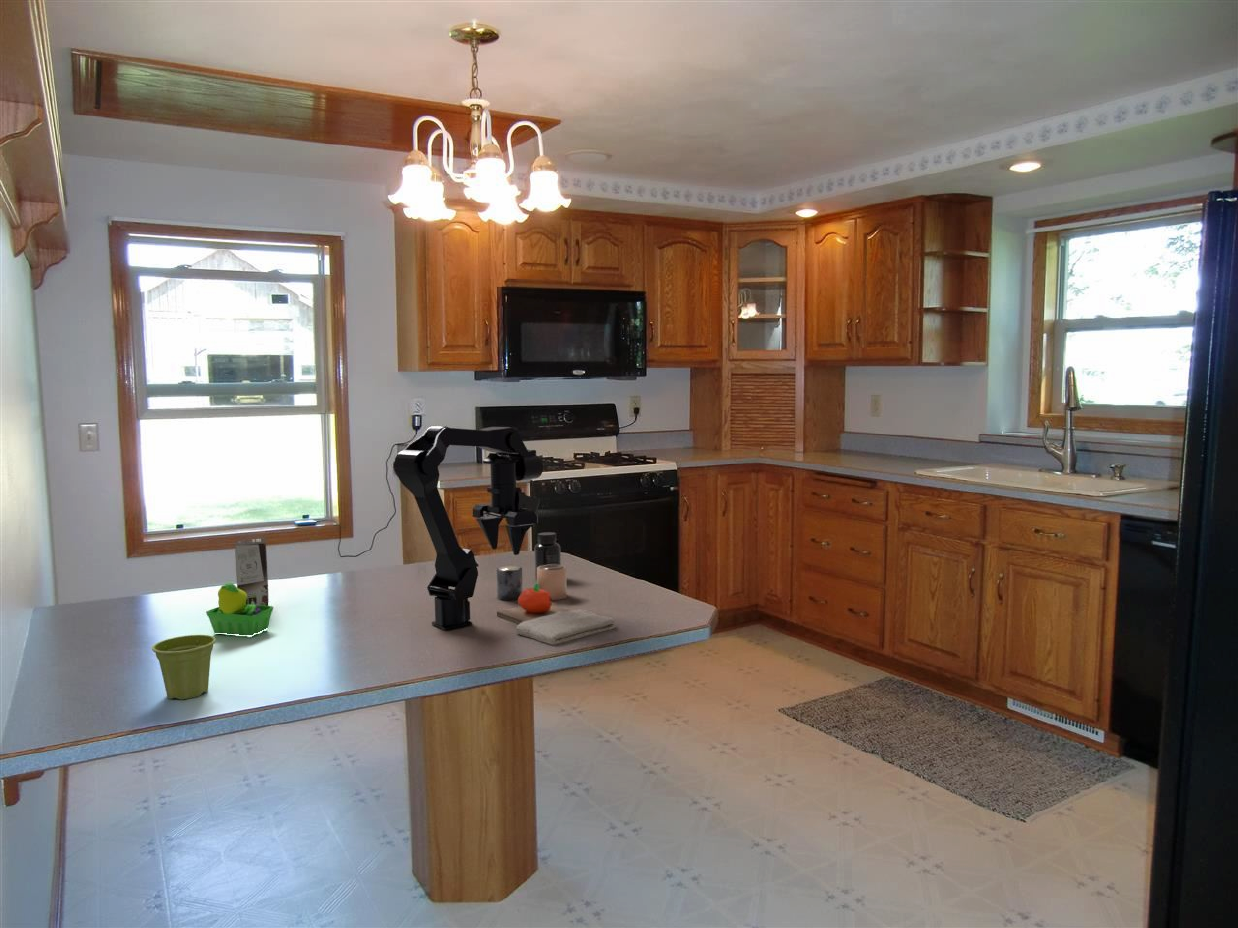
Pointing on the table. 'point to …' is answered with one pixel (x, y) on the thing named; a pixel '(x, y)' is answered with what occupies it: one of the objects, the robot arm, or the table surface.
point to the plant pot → (185, 664)
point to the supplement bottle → (547, 551)
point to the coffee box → (252, 570)
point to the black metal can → (509, 583)
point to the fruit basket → (238, 613)
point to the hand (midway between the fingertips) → (505, 551)
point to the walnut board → (525, 614)
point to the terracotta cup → (553, 580)
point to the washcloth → (564, 626)
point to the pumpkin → (535, 600)
